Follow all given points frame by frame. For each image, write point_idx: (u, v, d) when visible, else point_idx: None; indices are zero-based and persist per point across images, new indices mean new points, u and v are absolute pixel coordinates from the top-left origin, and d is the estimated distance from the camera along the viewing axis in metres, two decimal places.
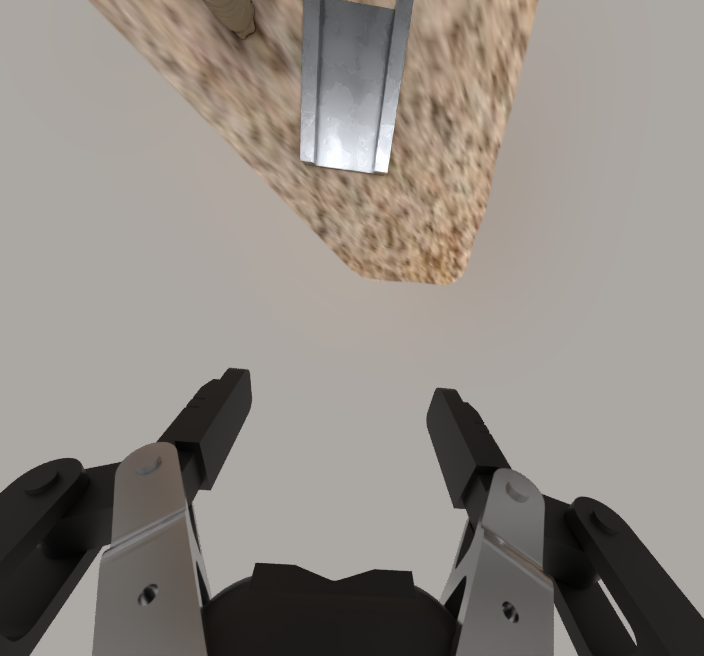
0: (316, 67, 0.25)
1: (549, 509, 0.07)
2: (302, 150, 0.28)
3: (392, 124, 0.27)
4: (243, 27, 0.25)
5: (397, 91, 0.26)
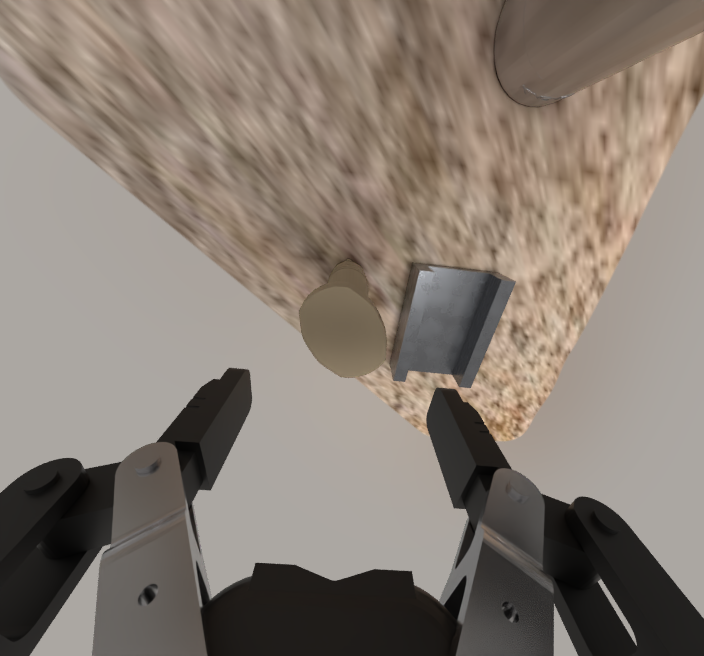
0: (419, 325, 0.28)
1: (549, 509, 0.07)
2: (396, 374, 0.31)
3: (481, 359, 0.30)
4: None
5: (489, 339, 0.29)
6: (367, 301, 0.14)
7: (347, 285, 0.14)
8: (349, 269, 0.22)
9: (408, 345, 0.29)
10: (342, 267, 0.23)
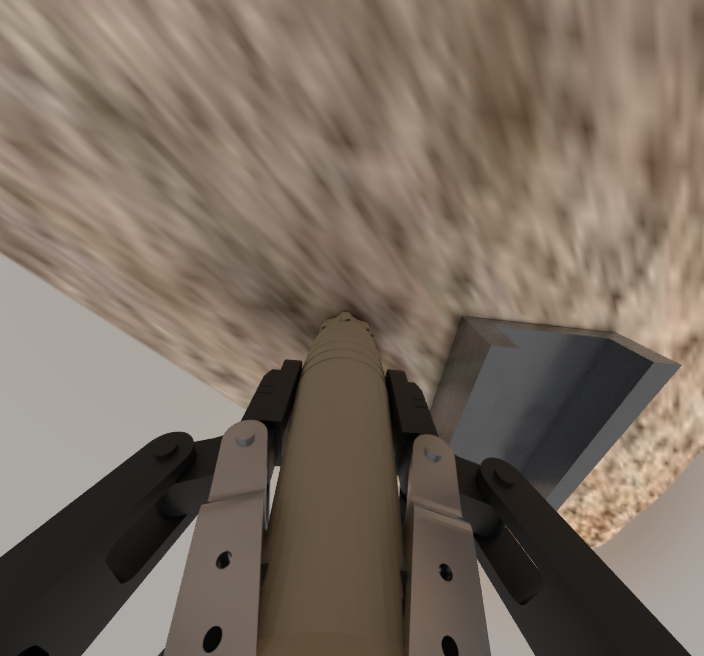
0: (477, 433, 0.15)
1: (463, 469, 0.07)
2: None
3: (579, 480, 0.17)
4: None
5: (602, 454, 0.16)
6: None
7: None
8: (345, 363, 0.10)
9: None
10: (330, 353, 0.10)
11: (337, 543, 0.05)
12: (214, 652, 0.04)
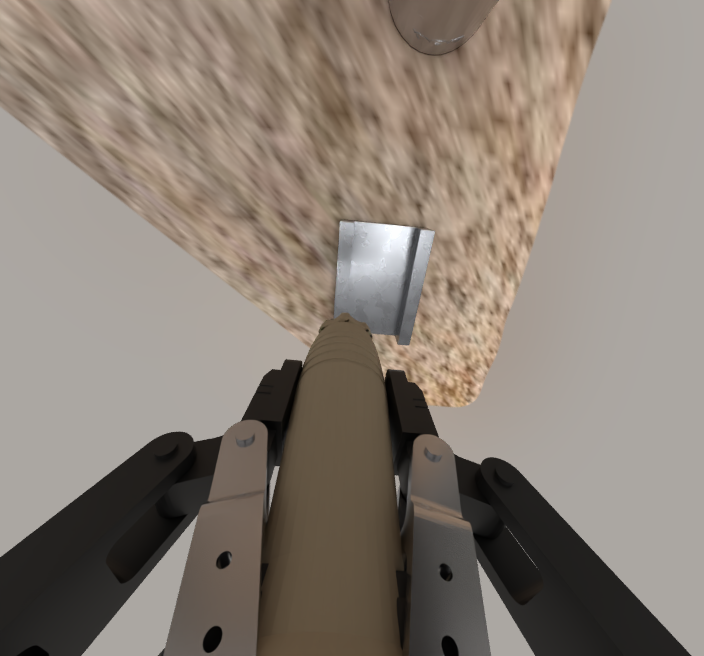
0: (348, 279, 0.29)
1: (463, 469, 0.08)
2: None
3: (414, 314, 0.31)
4: None
5: (419, 293, 0.29)
6: None
7: None
8: (344, 364, 0.10)
9: (341, 301, 0.30)
10: (329, 354, 0.10)
11: (334, 543, 0.05)
12: (214, 652, 0.04)
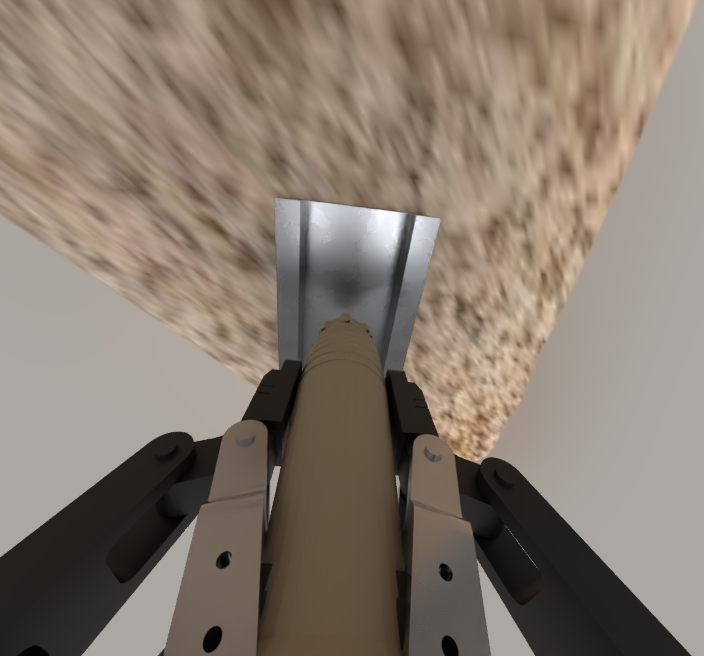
0: (297, 296, 0.18)
1: (463, 469, 0.08)
2: None
3: (404, 351, 0.20)
4: None
5: (412, 319, 0.18)
6: None
7: None
8: (344, 365, 0.10)
9: (288, 329, 0.19)
10: (330, 356, 0.10)
11: (336, 545, 0.05)
12: (214, 652, 0.04)
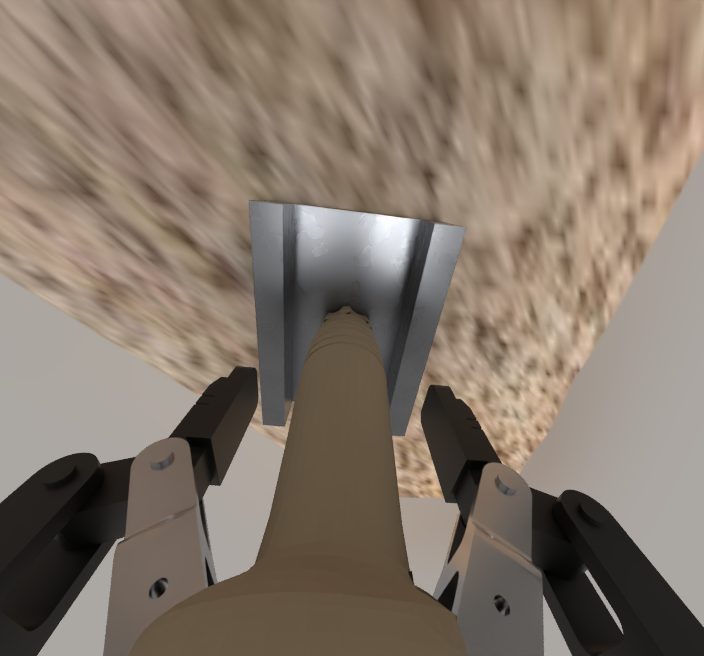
0: (282, 323, 0.14)
1: (537, 502, 0.07)
2: (265, 414, 0.17)
3: (415, 387, 0.16)
4: None
5: (425, 351, 0.15)
6: None
7: None
8: (346, 347, 0.10)
9: (272, 363, 0.15)
10: (332, 339, 0.11)
11: (340, 483, 0.06)
12: None
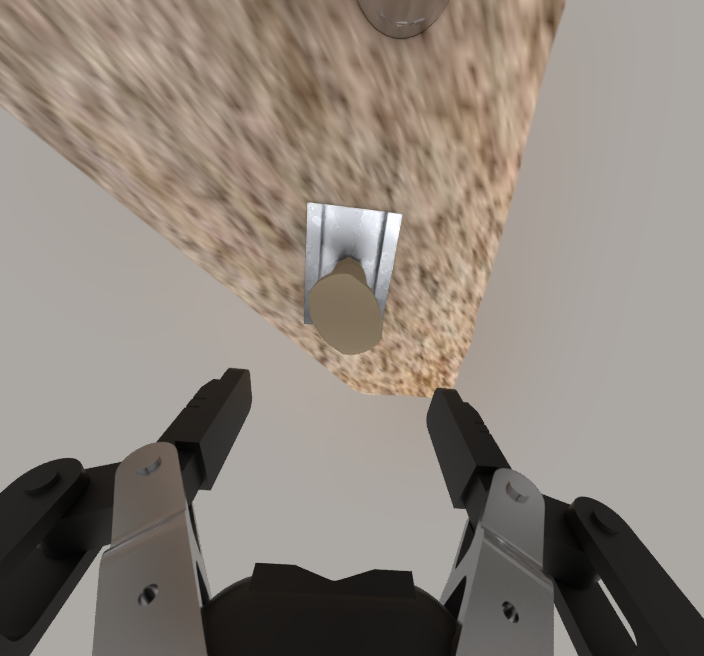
0: (318, 262, 0.29)
1: (549, 509, 0.07)
2: (305, 316, 0.32)
3: (384, 299, 0.31)
4: None
5: (388, 277, 0.29)
6: (366, 286, 0.17)
7: (349, 272, 0.17)
8: (349, 264, 0.25)
9: (311, 284, 0.30)
10: (343, 262, 0.26)
11: None
12: None
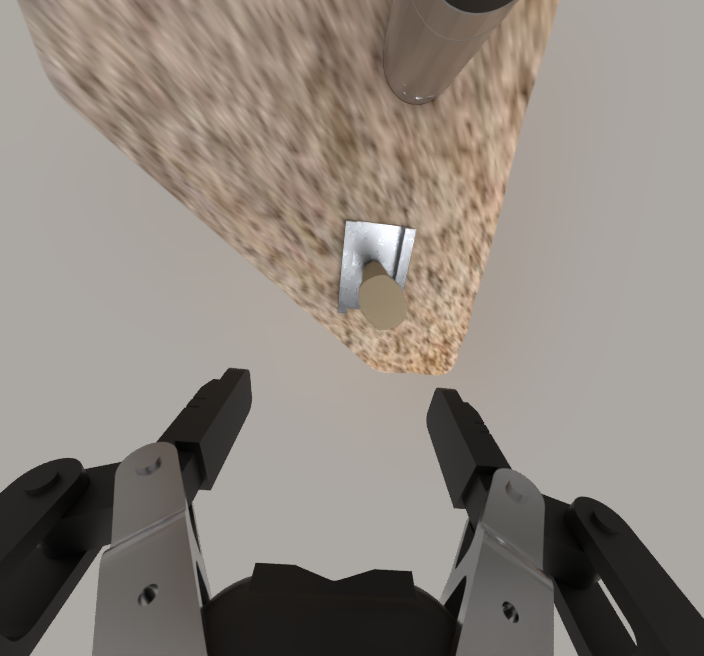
0: (351, 265, 0.38)
1: (549, 509, 0.07)
2: (339, 307, 0.41)
3: None
4: None
5: (404, 276, 0.39)
6: (397, 283, 0.26)
7: (385, 274, 0.26)
8: (377, 267, 0.34)
9: (345, 282, 0.39)
10: (372, 266, 0.35)
11: None
12: None
